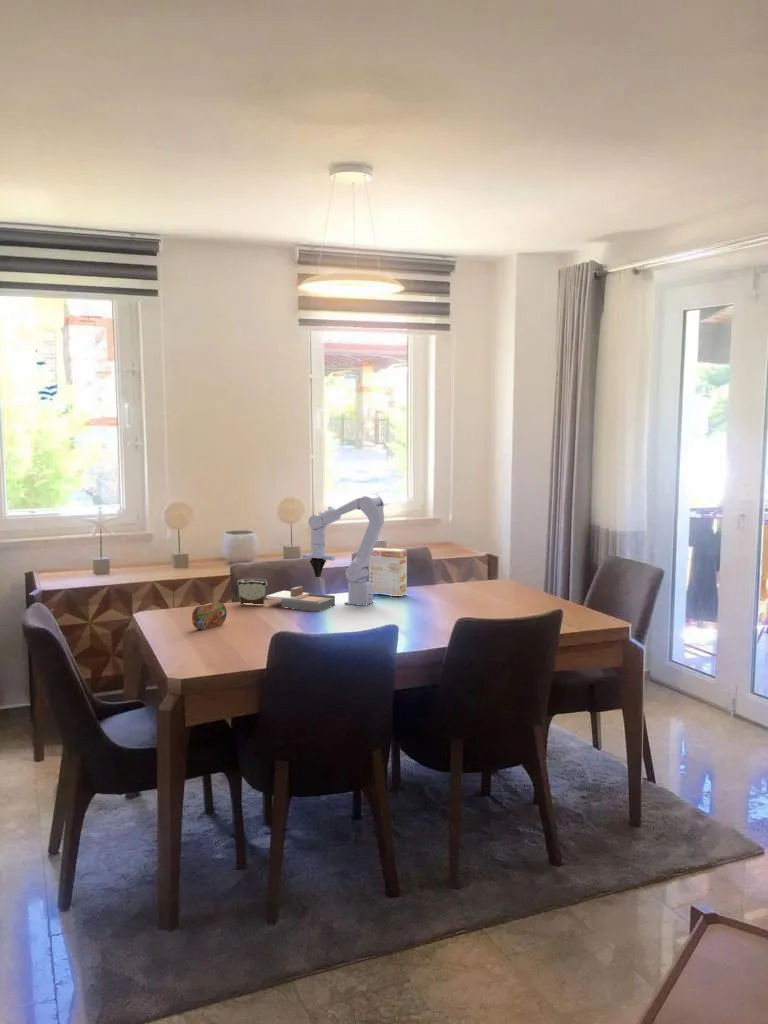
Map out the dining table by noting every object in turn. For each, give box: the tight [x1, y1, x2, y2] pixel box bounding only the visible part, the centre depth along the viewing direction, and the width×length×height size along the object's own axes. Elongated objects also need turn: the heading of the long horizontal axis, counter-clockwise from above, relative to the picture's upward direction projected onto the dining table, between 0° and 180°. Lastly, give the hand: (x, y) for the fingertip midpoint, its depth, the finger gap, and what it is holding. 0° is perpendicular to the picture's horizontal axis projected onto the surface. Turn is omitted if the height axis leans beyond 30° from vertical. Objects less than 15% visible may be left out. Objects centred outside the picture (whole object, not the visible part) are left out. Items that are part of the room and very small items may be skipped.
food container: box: [236, 578, 269, 605], centre depth 343 cm, size 12×6×10 cm, turn 84°
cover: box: [265, 586, 310, 601], centre depth 343 cm, size 12×13×4 cm
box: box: [280, 592, 336, 612], centre depth 339 cm, size 16×14×4 cm
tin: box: [191, 601, 227, 631], centre depth 302 cm, size 15×3×8 cm, turn 148°
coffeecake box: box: [368, 547, 408, 595], centre depth 366 cm, size 15×7×20 cm, turn 59°
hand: (317, 576), depth 354 cm, fingers closed
